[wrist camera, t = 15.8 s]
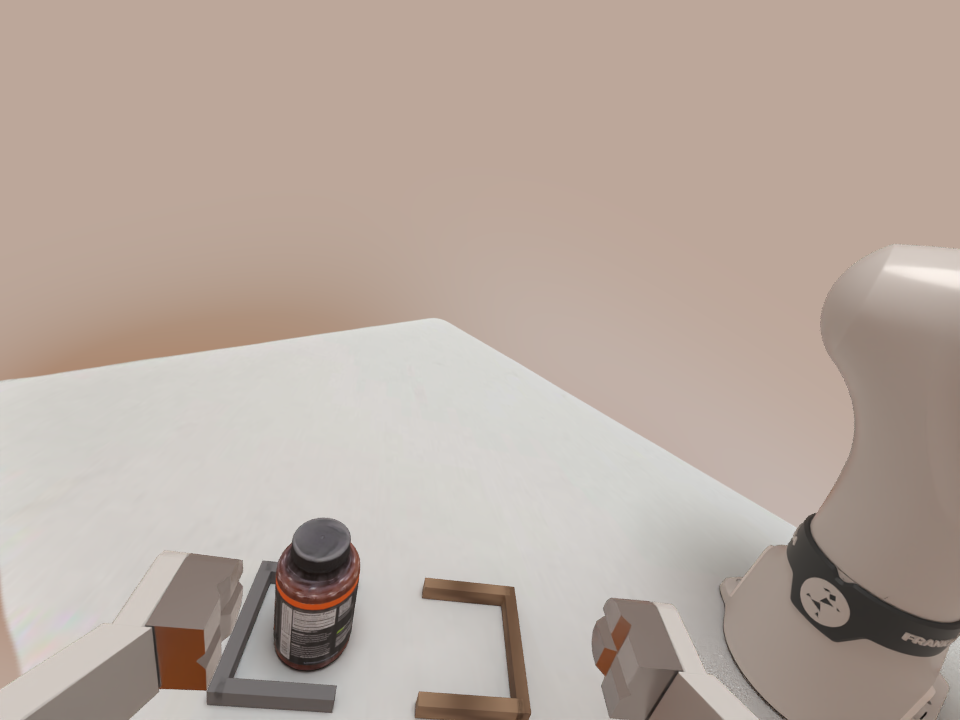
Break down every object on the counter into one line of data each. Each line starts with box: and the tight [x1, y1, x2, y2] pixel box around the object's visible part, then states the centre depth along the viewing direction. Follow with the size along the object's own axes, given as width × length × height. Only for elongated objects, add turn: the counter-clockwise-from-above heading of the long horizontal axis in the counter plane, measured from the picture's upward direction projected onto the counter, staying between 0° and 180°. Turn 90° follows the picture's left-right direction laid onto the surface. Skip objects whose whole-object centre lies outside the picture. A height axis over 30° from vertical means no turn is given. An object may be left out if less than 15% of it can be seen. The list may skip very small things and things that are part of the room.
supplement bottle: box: [274, 518, 360, 670], centre depth 37 cm, size 6×6×11 cm
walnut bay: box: [415, 578, 531, 720], centre depth 41 cm, size 8×11×2 cm
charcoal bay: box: [207, 561, 337, 712], centre depth 39 cm, size 8×11×2 cm
